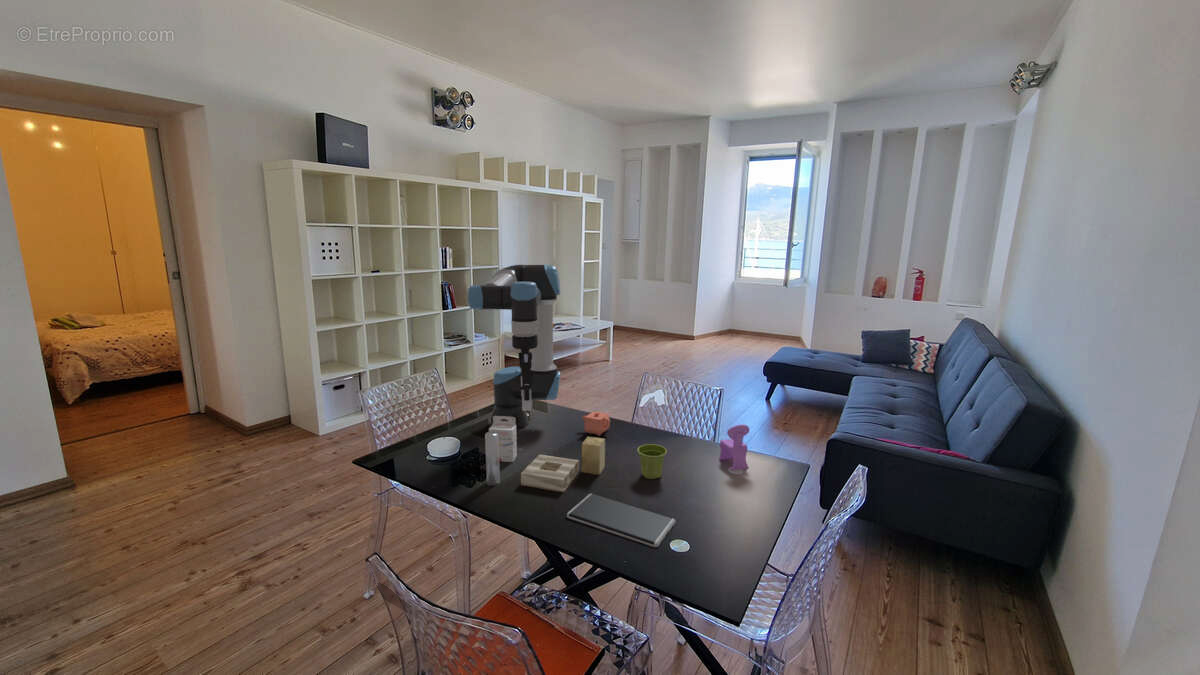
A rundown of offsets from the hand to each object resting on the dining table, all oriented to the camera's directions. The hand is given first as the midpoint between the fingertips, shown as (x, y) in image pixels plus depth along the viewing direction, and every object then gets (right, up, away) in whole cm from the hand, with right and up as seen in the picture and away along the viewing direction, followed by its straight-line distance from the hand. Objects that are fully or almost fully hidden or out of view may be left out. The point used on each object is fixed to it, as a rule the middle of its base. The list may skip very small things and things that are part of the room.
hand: (526, 402), depth 149 cm
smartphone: (+28, -30, -16) cm, 44 cm away
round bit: (-11, -25, +3) cm, 28 cm away
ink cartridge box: (-11, -22, +20) cm, 32 cm away
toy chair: (+68, -23, +18) cm, 74 cm away
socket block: (+7, -25, +6) cm, 26 cm away
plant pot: (+39, -25, +9) cm, 47 cm away
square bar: (+20, -24, +12) cm, 34 cm away
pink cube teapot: (+21, -18, +44) cm, 52 cm away
